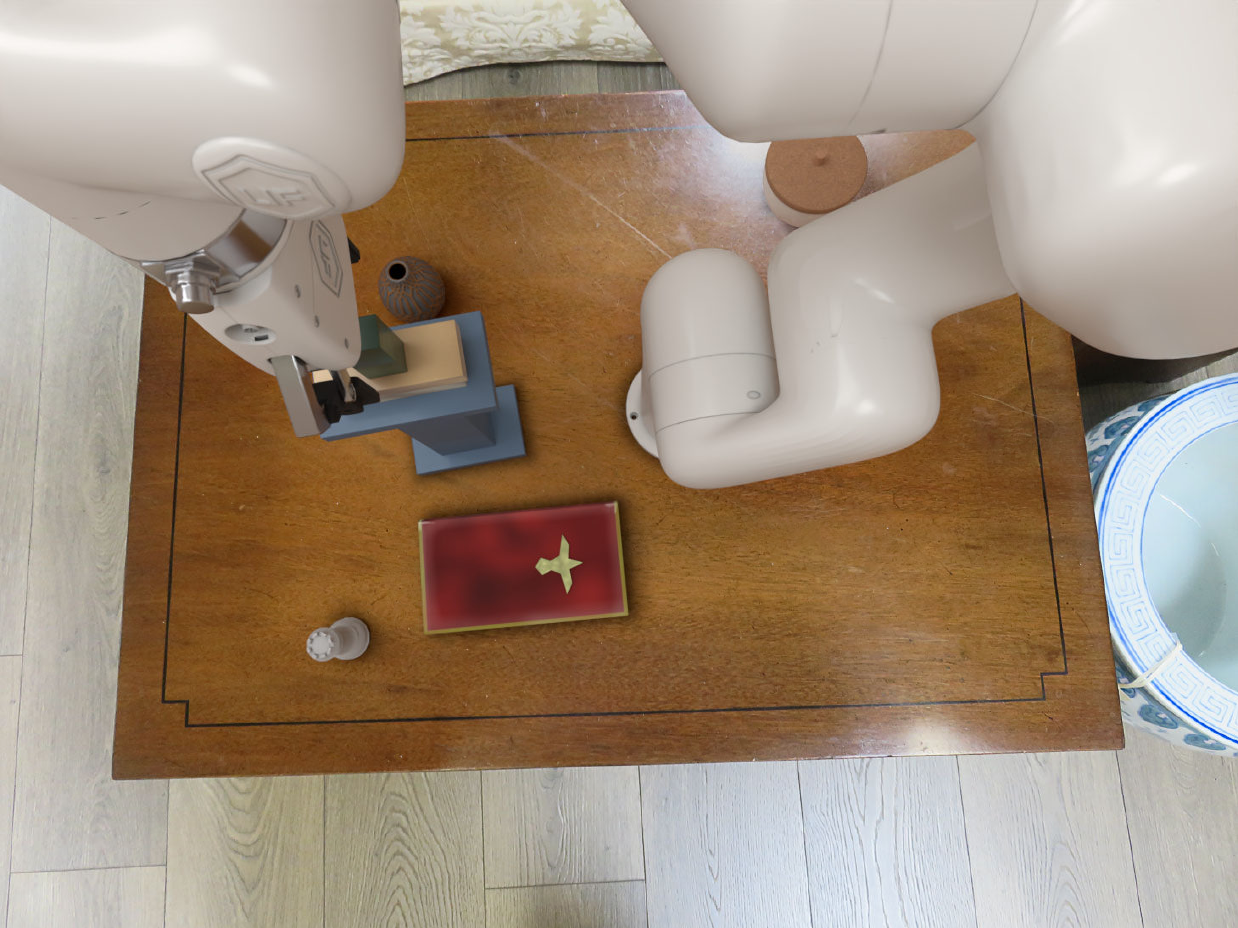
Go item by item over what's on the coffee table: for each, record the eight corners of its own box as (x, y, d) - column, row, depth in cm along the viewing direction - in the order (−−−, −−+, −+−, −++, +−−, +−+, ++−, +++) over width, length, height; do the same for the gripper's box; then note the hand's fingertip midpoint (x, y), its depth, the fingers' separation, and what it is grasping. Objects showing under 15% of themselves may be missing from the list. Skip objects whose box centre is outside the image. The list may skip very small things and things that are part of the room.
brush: (465, 334, 58) (432, 288, 48) (473, 387, 57) (442, 350, 48) (329, 360, 58) (269, 318, 48) (336, 413, 57) (277, 381, 47)
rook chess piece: (355, 667, 78) (324, 678, 70) (321, 644, 78) (286, 652, 70) (379, 631, 78) (350, 638, 70) (345, 608, 78) (313, 613, 71)
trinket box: (848, 243, 83) (875, 202, 74) (754, 243, 84) (770, 202, 74) (845, 157, 85) (871, 106, 76) (753, 157, 85) (768, 106, 76)
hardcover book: (428, 520, 80) (416, 518, 76) (618, 502, 80) (617, 498, 75) (434, 631, 78) (423, 635, 74) (628, 613, 78) (628, 615, 74)
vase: (449, 331, 83) (428, 303, 74) (389, 330, 83) (361, 302, 74) (452, 274, 84) (432, 239, 75) (393, 273, 84) (366, 239, 75)
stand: (524, 385, 82) (480, 310, 58) (535, 454, 81) (496, 405, 57) (401, 408, 82) (307, 342, 58) (411, 477, 80) (320, 438, 57)
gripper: (304, 377, 29) (422, 448, 46) (257, -1, 32) (386, 198, 49) (118, 411, 29) (305, 470, 46) (86, 28, 31) (275, 218, 48)
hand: (347, 330), depth 47 cm, fingers open, 9 cm apart
